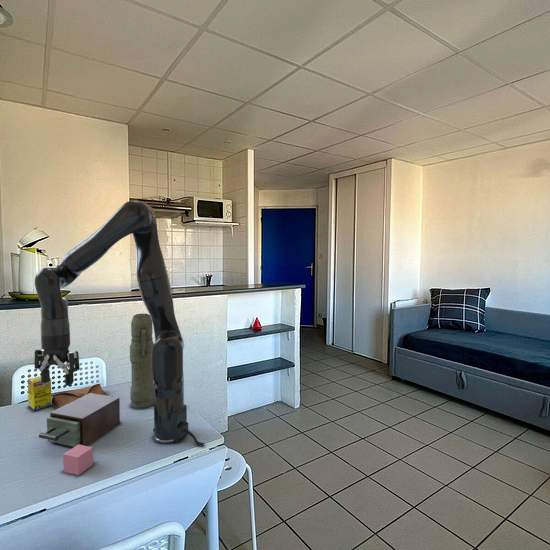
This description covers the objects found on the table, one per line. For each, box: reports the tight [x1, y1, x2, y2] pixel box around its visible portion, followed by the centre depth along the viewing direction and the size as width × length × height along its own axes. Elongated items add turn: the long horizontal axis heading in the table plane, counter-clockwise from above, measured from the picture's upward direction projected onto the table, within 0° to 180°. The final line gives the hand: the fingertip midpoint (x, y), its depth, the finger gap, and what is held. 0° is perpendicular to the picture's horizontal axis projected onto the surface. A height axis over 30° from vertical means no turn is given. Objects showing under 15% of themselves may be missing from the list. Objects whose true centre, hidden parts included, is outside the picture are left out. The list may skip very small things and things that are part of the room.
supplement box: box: [27, 375, 53, 412], centre depth 132 cm, size 6×6×11 cm
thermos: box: [129, 313, 155, 410], centre depth 134 cm, size 9×12×35 cm
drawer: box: [38, 416, 81, 448], centre depth 110 cm, size 20×11×7 cm, turn 163°
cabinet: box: [49, 393, 121, 446], centre depth 114 cm, size 16×13×9 cm
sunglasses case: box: [51, 383, 108, 410], centre depth 138 cm, size 18×7×7 cm, turn 138°
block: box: [62, 444, 94, 476], centre depth 95 cm, size 5×5×5 cm
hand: (57, 383), depth 108 cm, fingers open, 8 cm apart
